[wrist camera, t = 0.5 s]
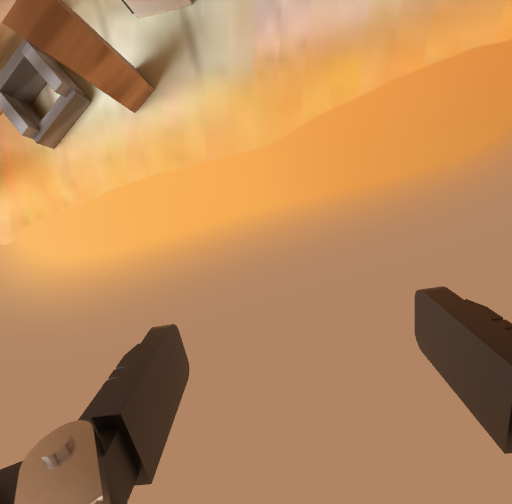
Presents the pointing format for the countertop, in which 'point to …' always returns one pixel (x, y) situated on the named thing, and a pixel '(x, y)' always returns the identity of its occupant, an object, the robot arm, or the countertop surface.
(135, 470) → the robot arm
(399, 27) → the countertop surface
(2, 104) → the panel
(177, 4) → the hinge
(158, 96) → the countertop surface
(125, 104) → the rail
